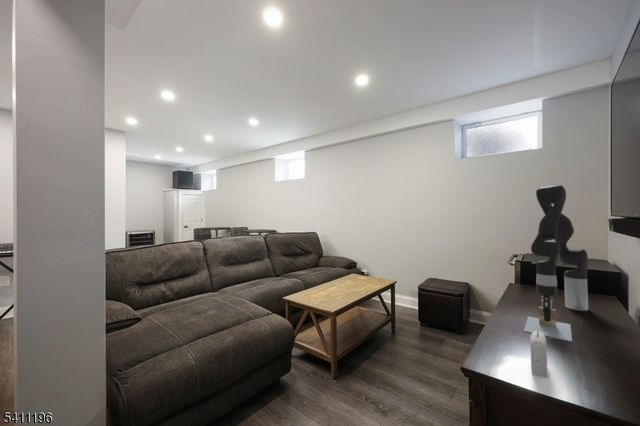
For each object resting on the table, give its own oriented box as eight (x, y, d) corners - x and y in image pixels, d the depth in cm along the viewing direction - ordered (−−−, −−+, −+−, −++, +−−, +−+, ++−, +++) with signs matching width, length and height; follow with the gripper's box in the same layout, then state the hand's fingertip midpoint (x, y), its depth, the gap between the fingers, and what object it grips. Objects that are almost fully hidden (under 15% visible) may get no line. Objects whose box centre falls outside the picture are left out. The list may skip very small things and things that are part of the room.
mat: (528, 317, 137) (528, 316, 137) (570, 325, 126) (570, 324, 126) (523, 331, 121) (523, 330, 121) (572, 342, 110) (572, 341, 110)
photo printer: (547, 378, 86) (546, 340, 87) (530, 374, 89) (529, 337, 89) (547, 364, 94) (546, 329, 94) (531, 360, 97) (530, 326, 97)
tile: (539, 323, 129) (539, 306, 129) (556, 326, 125) (555, 309, 125) (539, 324, 127) (538, 307, 127) (556, 327, 123) (555, 310, 123)
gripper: (537, 279, 134) (538, 314, 134) (535, 285, 124) (536, 322, 123) (557, 281, 129) (558, 317, 129) (556, 287, 118) (557, 326, 118)
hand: (547, 320), depth 126 cm, fingers closed on tile, 2 cm apart
